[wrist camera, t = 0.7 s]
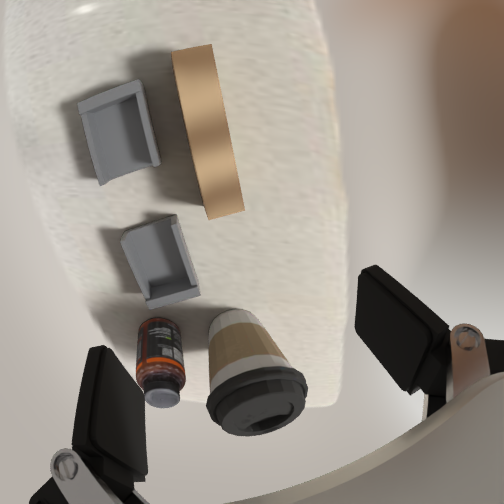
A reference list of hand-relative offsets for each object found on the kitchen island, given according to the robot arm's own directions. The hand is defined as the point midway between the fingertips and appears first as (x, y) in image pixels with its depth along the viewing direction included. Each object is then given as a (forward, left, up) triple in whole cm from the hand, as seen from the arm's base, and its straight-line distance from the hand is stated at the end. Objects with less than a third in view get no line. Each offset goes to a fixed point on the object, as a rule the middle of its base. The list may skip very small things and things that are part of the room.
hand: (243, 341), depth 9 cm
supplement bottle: (+17, -10, -22) cm, 30 cm away
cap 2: (+6, -6, -22) cm, 23 cm away
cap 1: (-9, -6, -22) cm, 24 cm away
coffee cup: (+20, 0, -22) cm, 30 cm away
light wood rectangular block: (-6, +2, -22) cm, 23 cm away
